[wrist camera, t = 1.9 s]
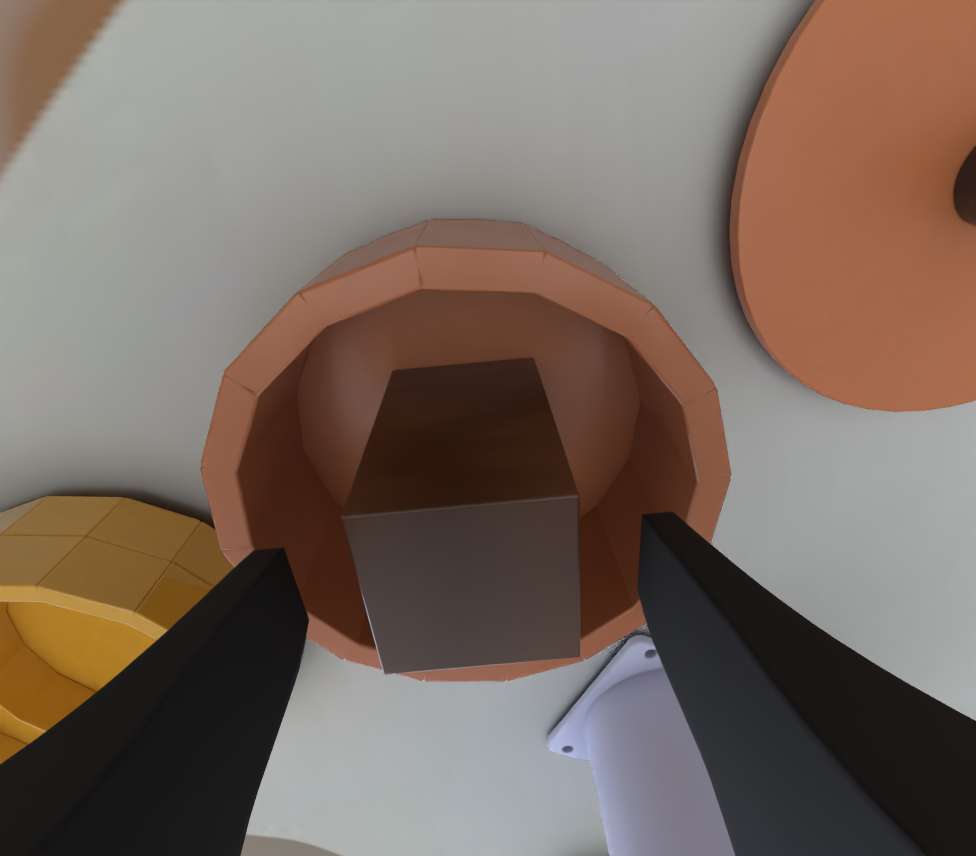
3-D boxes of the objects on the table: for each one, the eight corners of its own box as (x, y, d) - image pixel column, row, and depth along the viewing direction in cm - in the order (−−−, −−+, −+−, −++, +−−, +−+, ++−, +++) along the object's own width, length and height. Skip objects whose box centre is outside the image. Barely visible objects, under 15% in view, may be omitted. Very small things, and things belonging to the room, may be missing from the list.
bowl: (345, 554, 19) (313, 659, 15) (263, 741, 24) (222, 857, 20) (-31, 435, 16) (-192, 525, 12) (-35, 674, 21) (-151, 793, 17)
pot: (735, 329, 16) (842, 398, 11) (546, 599, 20) (568, 722, 16) (348, 133, 13) (284, 121, 8) (237, 498, 18) (161, 612, 13)
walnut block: (534, 356, 15) (580, 495, 9) (540, 476, 17) (580, 658, 11) (391, 370, 15) (339, 517, 9) (413, 488, 17) (382, 676, 11)
